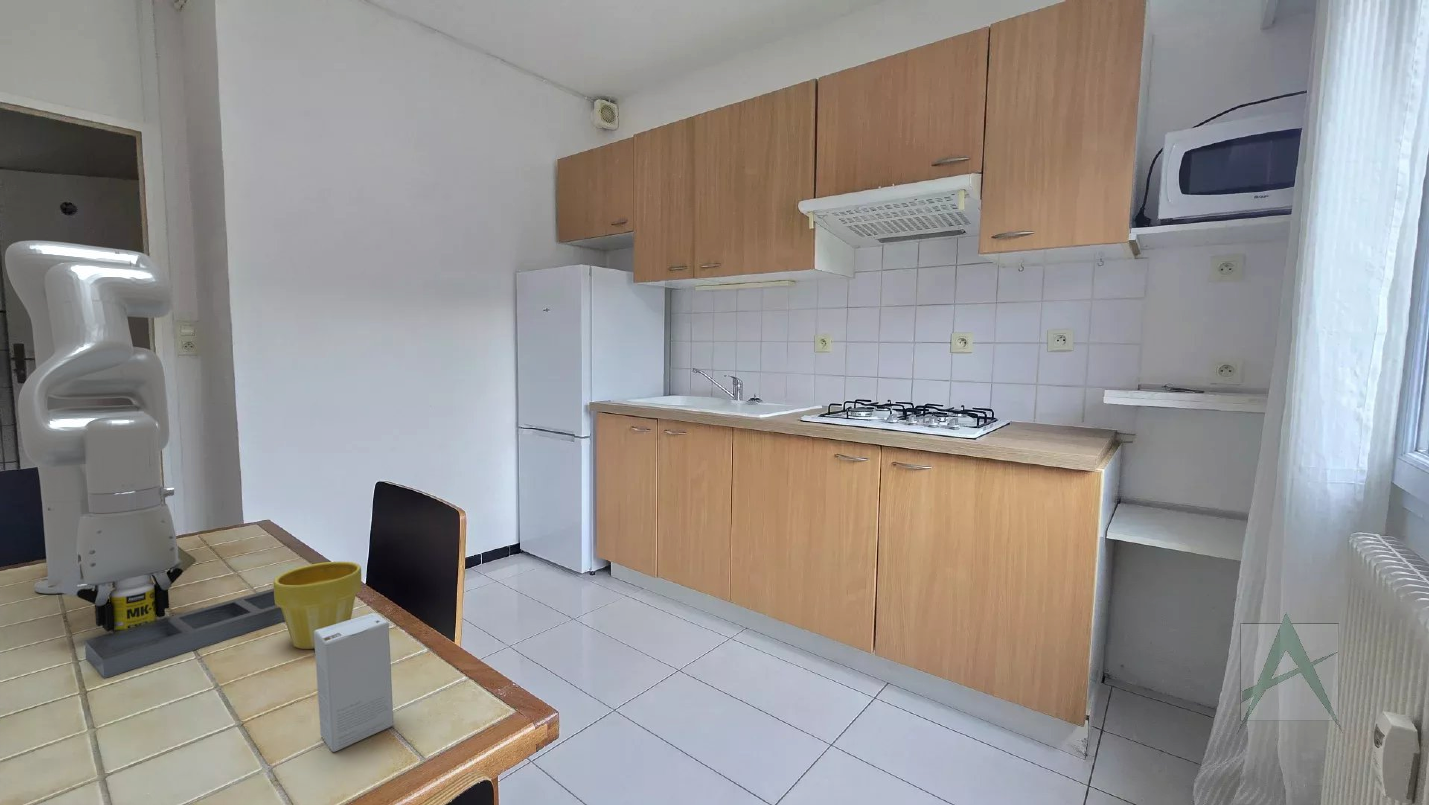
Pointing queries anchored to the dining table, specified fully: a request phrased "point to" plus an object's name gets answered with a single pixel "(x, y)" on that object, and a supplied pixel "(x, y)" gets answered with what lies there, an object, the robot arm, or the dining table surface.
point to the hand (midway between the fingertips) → (134, 620)
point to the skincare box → (353, 680)
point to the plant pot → (316, 598)
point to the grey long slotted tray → (181, 633)
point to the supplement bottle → (133, 602)
